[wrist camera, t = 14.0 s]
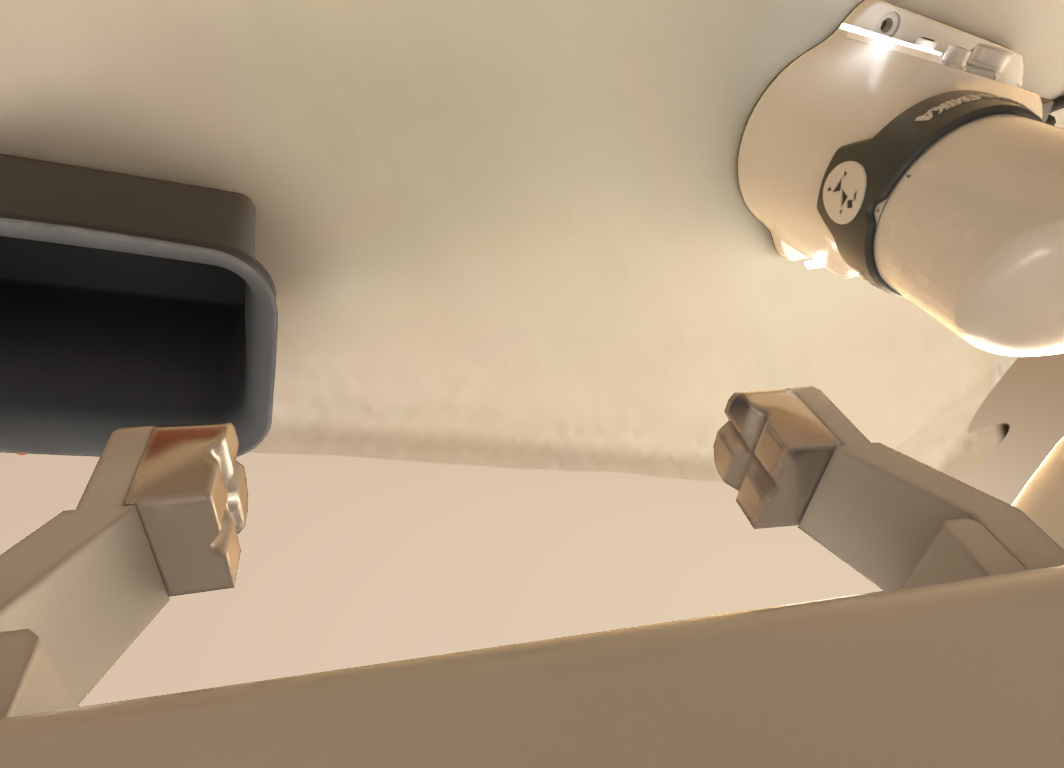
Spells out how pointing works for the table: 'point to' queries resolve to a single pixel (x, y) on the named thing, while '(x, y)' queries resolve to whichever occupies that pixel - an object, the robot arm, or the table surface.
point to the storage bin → (128, 309)
